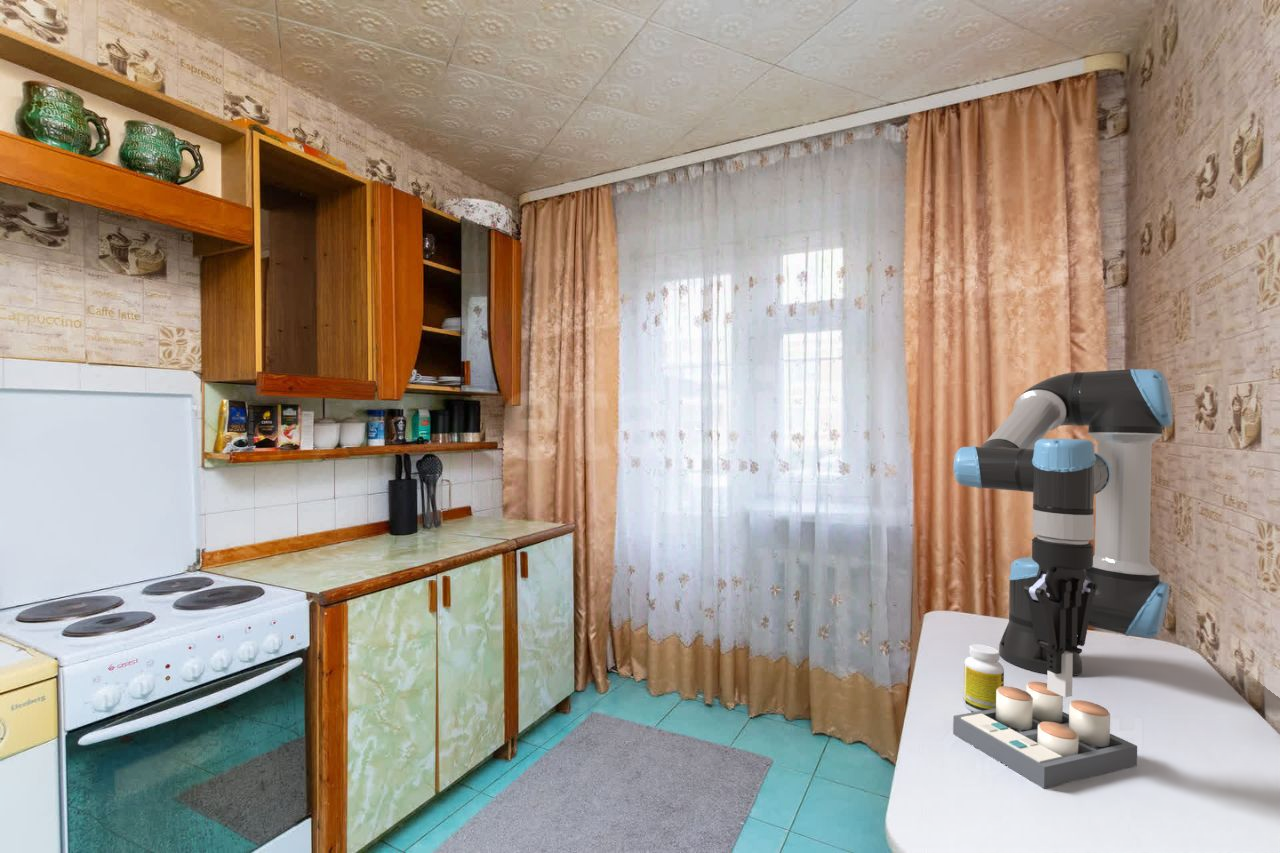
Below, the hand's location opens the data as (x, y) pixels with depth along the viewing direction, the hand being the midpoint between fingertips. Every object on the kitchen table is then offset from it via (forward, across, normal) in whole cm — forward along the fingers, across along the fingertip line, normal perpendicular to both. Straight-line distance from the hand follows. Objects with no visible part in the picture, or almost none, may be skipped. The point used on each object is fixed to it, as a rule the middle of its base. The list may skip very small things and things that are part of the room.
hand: (1059, 692), depth 86 cm
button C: (+8, +1, -7) cm, 10 cm away
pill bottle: (+11, -4, -16) cm, 20 cm away
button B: (+8, -6, 0) cm, 10 cm away
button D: (+10, +1, 0) cm, 10 cm away
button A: (+8, -6, -7) cm, 12 cm away
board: (+11, -1, -3) cm, 11 cm away
